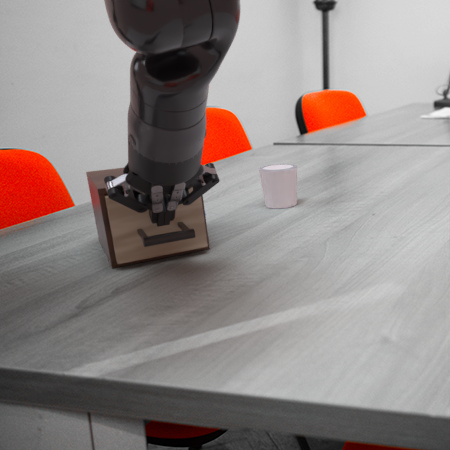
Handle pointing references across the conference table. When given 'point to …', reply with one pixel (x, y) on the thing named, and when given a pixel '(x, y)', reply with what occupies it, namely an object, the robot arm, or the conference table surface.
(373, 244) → the conference table surface
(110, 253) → the cabinet
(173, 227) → the drawer
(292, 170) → the white cup
